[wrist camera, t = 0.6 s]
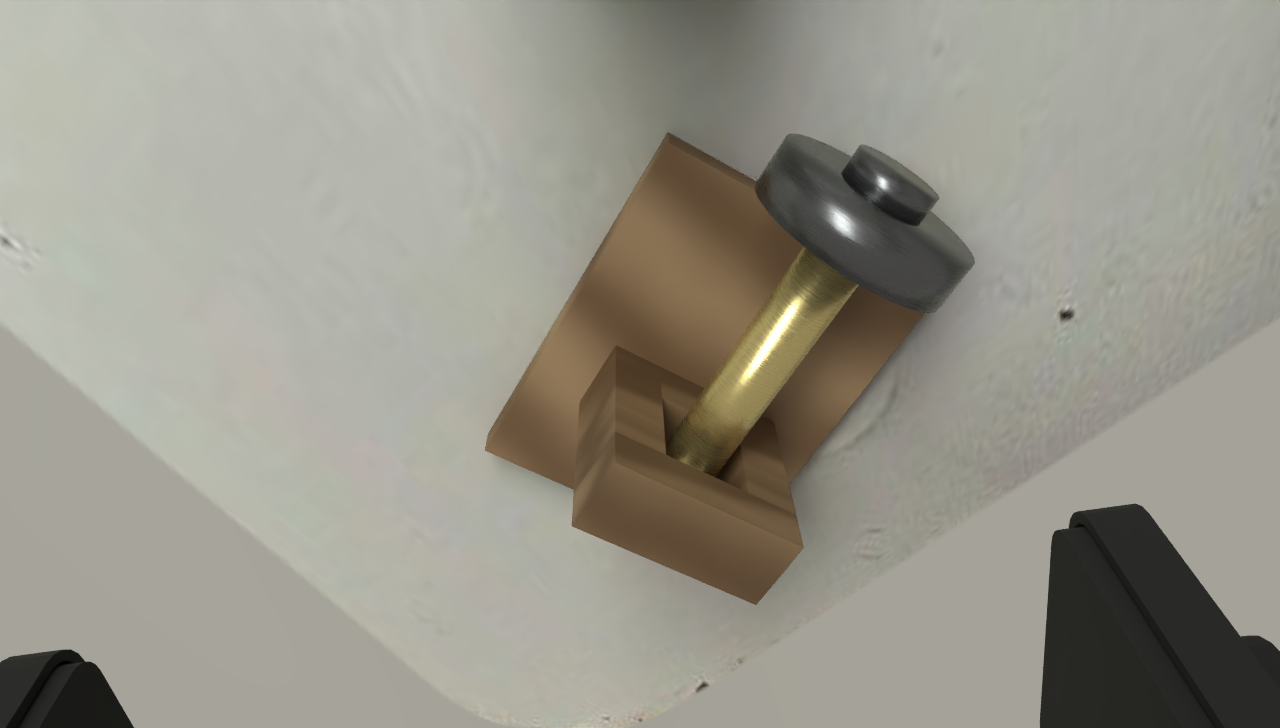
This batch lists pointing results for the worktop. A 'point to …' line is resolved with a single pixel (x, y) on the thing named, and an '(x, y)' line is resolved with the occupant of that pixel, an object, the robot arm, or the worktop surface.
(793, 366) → the brass peg with disc
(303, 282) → the worktop surface
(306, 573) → the worktop surface
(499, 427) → the eye post
